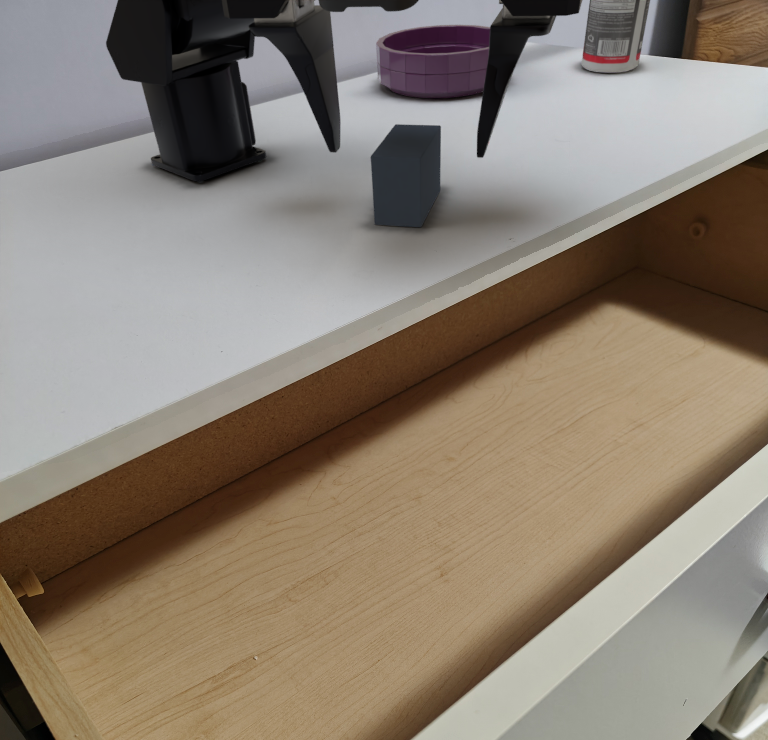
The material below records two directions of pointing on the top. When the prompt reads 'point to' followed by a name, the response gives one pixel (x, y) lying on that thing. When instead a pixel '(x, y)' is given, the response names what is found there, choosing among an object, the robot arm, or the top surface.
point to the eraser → (406, 175)
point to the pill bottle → (614, 35)
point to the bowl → (434, 60)
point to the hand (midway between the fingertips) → (406, 153)
